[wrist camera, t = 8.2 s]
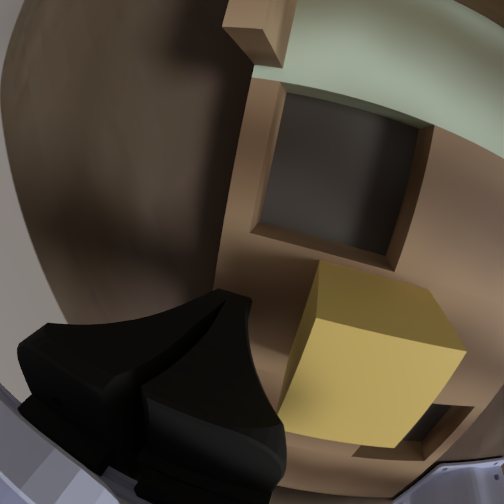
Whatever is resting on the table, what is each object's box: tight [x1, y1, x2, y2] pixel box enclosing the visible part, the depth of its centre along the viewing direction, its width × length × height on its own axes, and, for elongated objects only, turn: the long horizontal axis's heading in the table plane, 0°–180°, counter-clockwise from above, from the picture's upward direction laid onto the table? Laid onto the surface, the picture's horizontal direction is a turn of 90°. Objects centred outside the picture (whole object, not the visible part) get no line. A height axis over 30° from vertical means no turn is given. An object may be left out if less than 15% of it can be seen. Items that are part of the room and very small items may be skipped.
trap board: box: [213, 0, 504, 497], centre depth 10 cm, size 30×16×6 cm, turn 169°
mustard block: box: [276, 260, 467, 448], centre depth 9 cm, size 4×4×4 cm
